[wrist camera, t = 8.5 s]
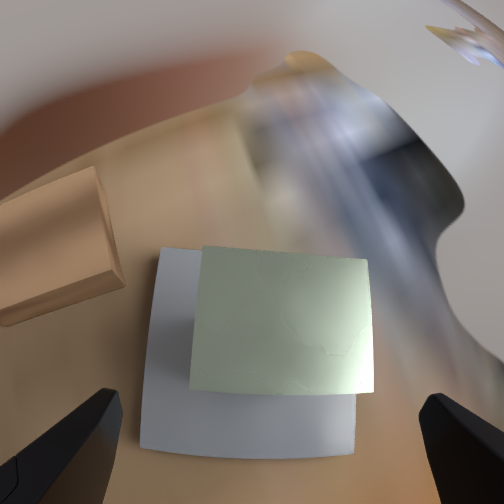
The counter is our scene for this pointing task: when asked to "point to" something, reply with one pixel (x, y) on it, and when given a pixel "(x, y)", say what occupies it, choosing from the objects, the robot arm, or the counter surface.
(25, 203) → the tan flat block
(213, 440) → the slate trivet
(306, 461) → the counter surface
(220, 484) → the counter surface
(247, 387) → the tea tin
